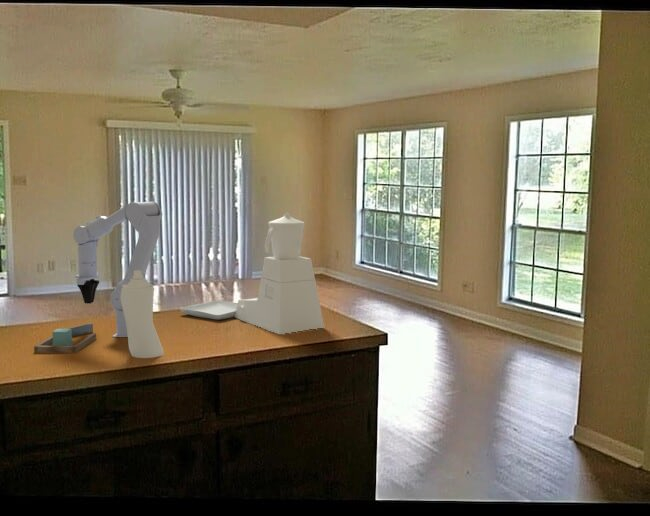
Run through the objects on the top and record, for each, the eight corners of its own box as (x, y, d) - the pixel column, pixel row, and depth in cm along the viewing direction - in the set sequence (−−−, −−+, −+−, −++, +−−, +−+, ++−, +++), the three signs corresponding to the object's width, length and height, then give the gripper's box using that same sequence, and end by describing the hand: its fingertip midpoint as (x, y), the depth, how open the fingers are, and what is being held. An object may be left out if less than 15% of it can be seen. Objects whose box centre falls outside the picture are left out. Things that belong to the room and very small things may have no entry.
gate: (91, 332, 208) (90, 323, 207) (93, 332, 207) (92, 323, 207) (56, 339, 198) (56, 330, 197) (58, 340, 197) (57, 330, 197)
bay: (96, 341, 197) (95, 333, 197) (76, 355, 181) (76, 346, 181) (57, 340, 197) (57, 332, 197) (34, 354, 181) (34, 346, 181)
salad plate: (218, 307, 253) (218, 299, 252) (258, 314, 241) (258, 305, 240) (177, 316, 236) (177, 307, 235) (218, 324, 223) (218, 315, 223)
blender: (231, 319, 231) (231, 209, 226) (275, 313, 242) (275, 209, 237) (277, 338, 204) (278, 214, 199) (324, 331, 215) (326, 213, 210)
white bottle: (124, 365, 173) (122, 274, 169) (120, 355, 182) (118, 269, 179) (167, 360, 177) (166, 272, 174) (161, 351, 187) (159, 267, 184)
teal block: (72, 348, 189) (71, 328, 188) (66, 351, 185) (66, 331, 184) (58, 348, 189) (58, 328, 188) (53, 351, 185) (52, 331, 184)
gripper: (83, 259, 215) (85, 298, 217) (66, 265, 201) (68, 307, 202) (104, 259, 215) (105, 298, 217) (88, 265, 201) (90, 307, 202)
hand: (89, 302), depth 210 cm, fingers closed
